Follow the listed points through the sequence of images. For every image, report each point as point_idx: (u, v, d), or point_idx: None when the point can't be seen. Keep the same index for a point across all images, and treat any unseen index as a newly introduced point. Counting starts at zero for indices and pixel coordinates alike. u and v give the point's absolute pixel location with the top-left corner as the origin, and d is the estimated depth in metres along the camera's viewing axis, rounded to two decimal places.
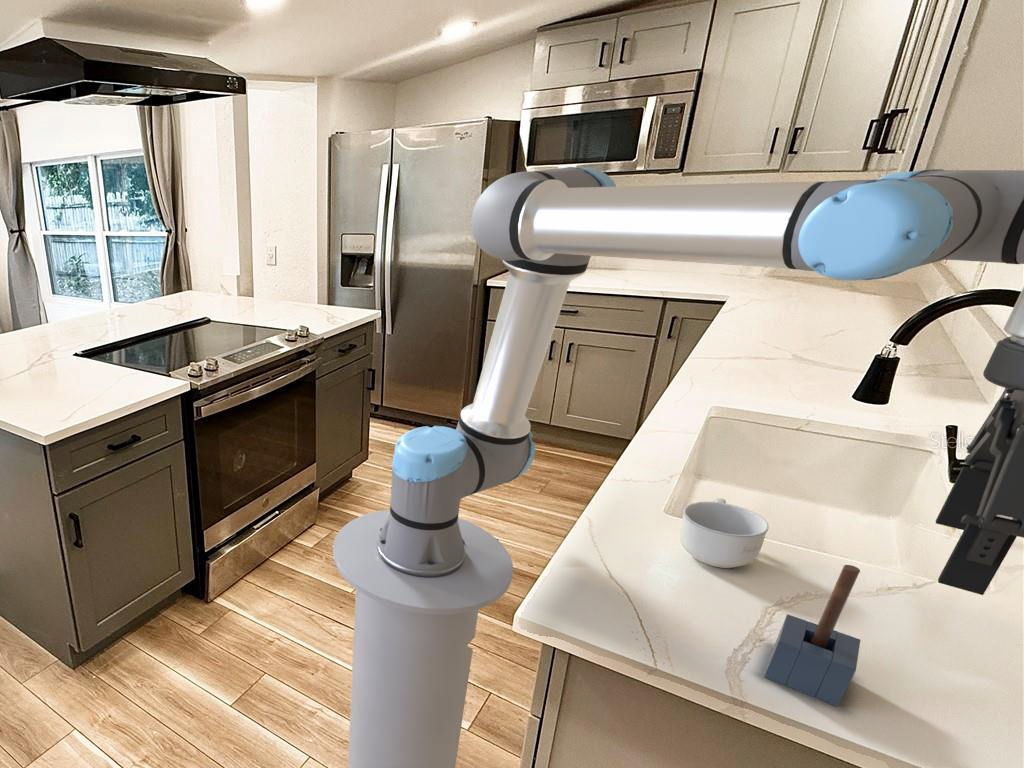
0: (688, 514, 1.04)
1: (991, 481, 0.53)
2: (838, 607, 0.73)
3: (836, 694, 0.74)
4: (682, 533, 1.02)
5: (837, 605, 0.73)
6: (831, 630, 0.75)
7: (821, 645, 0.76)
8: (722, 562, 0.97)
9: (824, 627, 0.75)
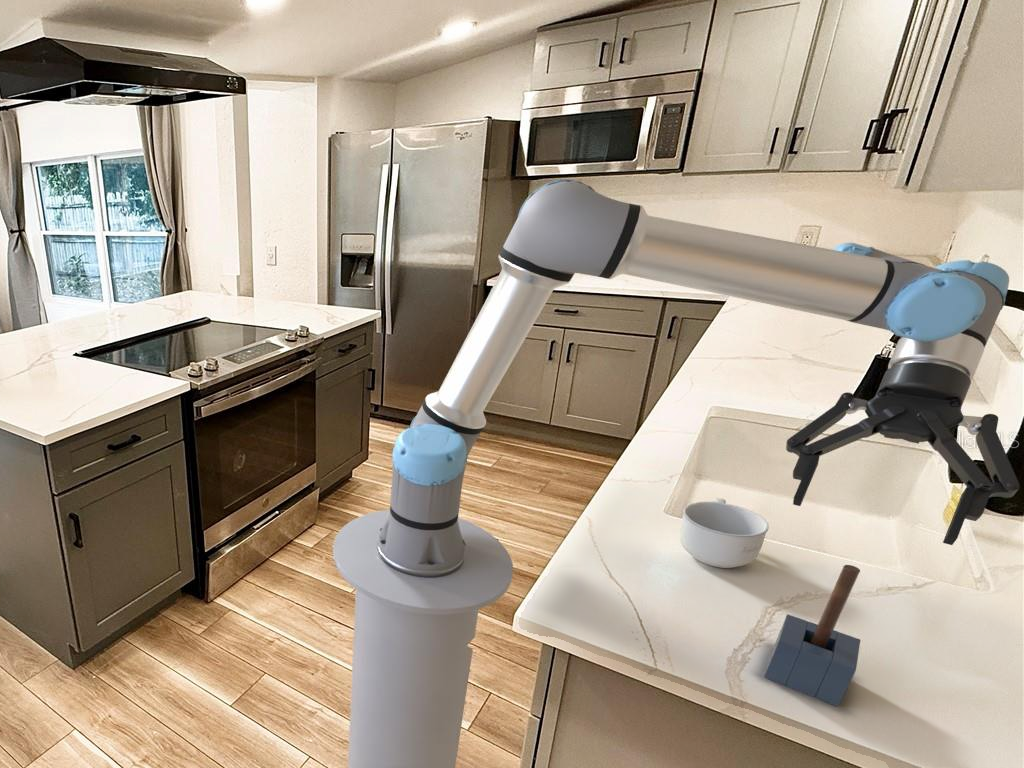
0: (688, 514, 1.04)
1: (970, 459, 0.72)
2: (838, 607, 0.73)
3: (836, 694, 0.74)
4: (682, 533, 1.02)
5: (837, 605, 0.73)
6: (831, 630, 0.75)
7: (821, 645, 0.76)
8: (722, 562, 0.97)
9: (824, 627, 0.75)
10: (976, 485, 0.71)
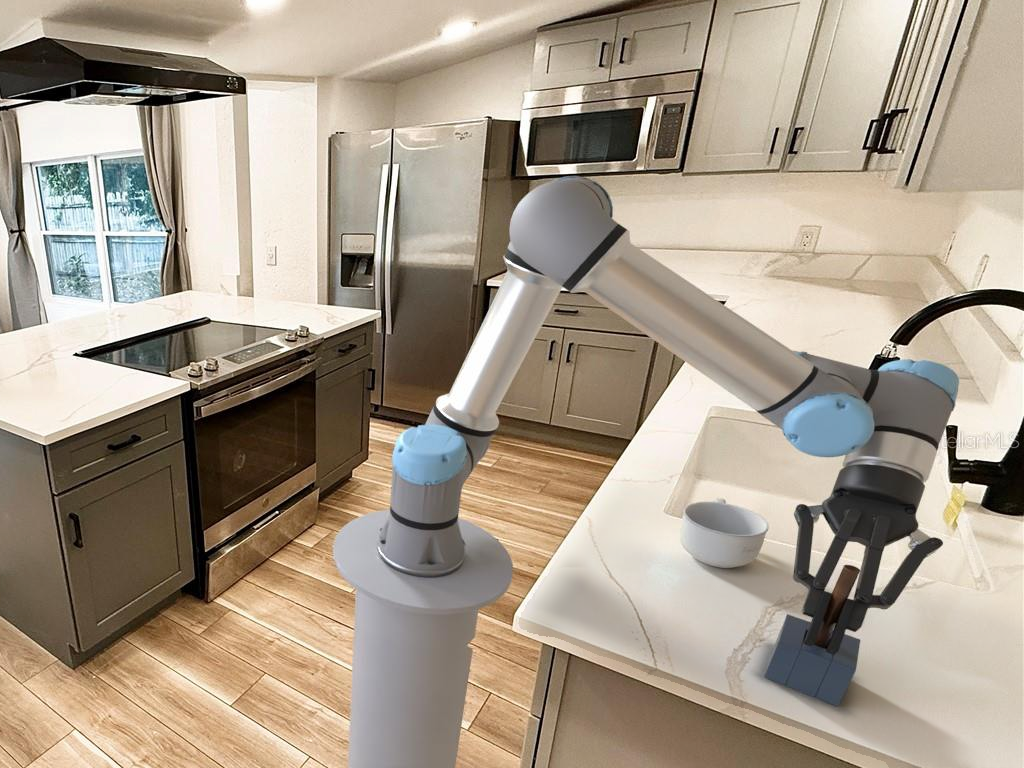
0: (688, 514, 1.04)
1: (876, 573, 0.73)
2: (838, 607, 0.73)
3: (836, 694, 0.74)
4: (682, 533, 1.02)
5: (837, 605, 0.73)
6: (831, 630, 0.75)
7: (821, 645, 0.76)
8: (722, 562, 0.97)
9: (824, 627, 0.75)
10: (857, 594, 0.73)
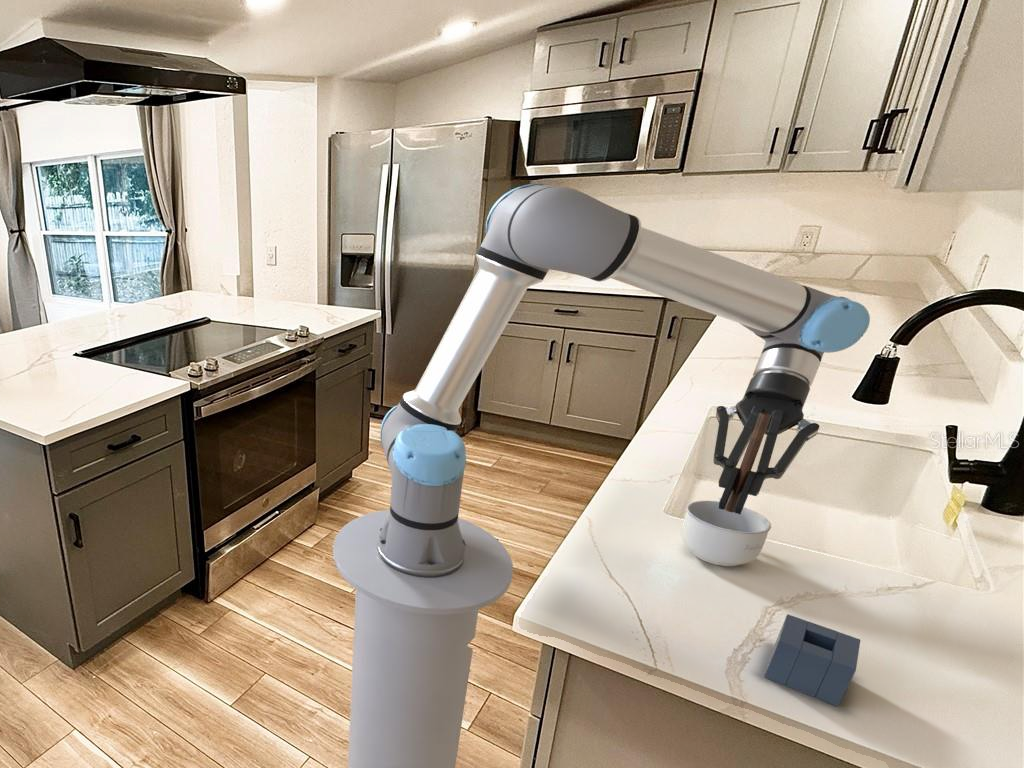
0: (690, 512, 1.04)
1: (771, 451, 0.96)
2: (755, 447, 0.95)
3: (836, 694, 0.74)
4: (684, 530, 1.02)
5: (754, 445, 0.95)
6: (750, 467, 0.96)
7: (743, 480, 0.97)
8: (724, 559, 0.97)
9: (745, 465, 0.96)
10: None
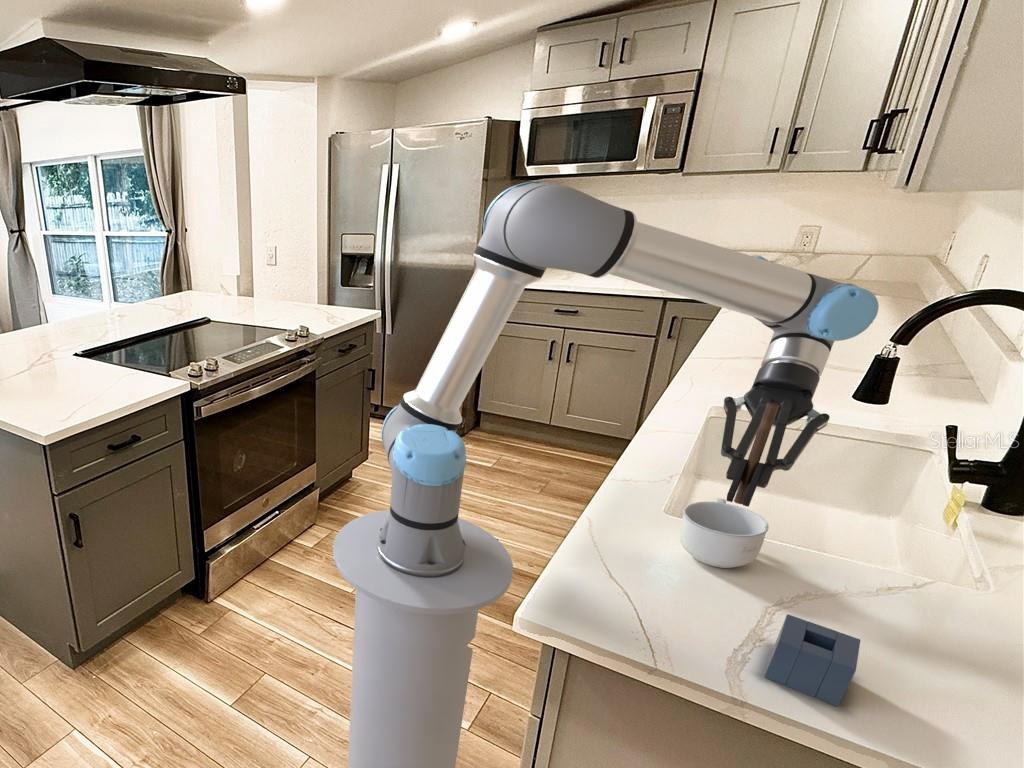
0: (688, 514, 1.04)
1: (780, 442, 0.94)
2: (763, 437, 0.93)
3: (836, 694, 0.74)
4: (682, 533, 1.02)
5: (762, 436, 0.93)
6: (759, 458, 0.94)
7: (751, 472, 0.95)
8: (722, 562, 0.97)
9: (753, 456, 0.95)
10: (766, 459, 0.94)
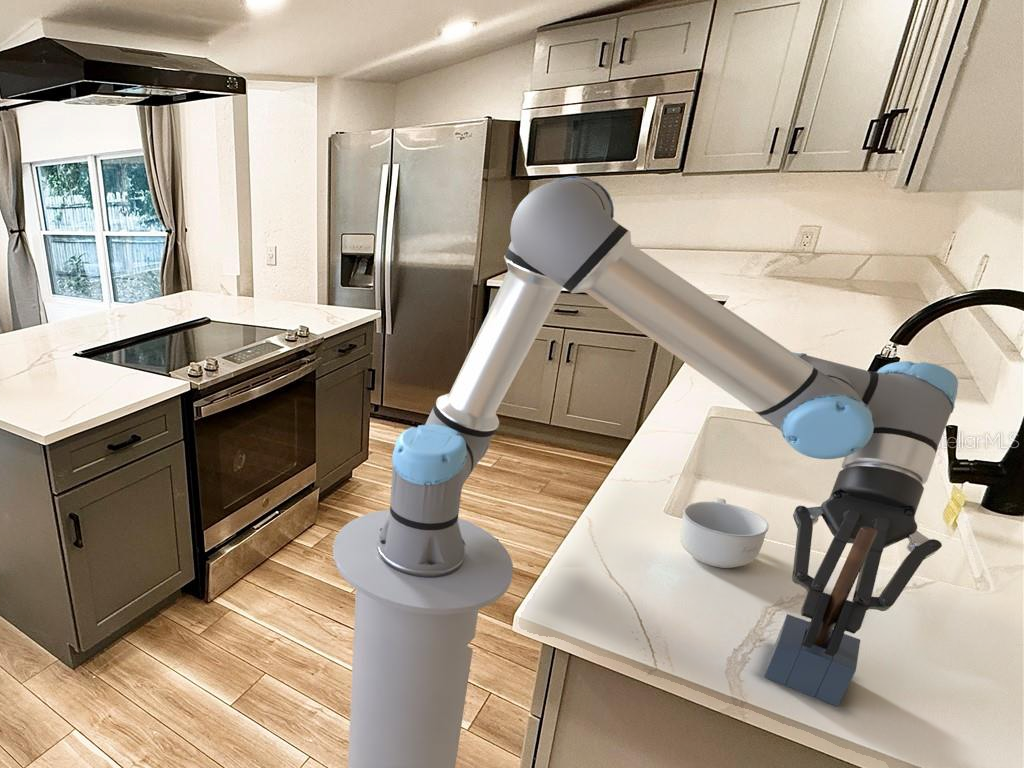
0: (688, 514, 1.04)
1: (875, 574, 0.73)
2: (854, 570, 0.71)
3: (836, 694, 0.74)
4: (682, 533, 1.02)
5: (853, 568, 0.71)
6: (847, 595, 0.73)
7: (836, 611, 0.74)
8: (722, 562, 0.97)
9: (840, 592, 0.73)
10: (856, 595, 0.73)
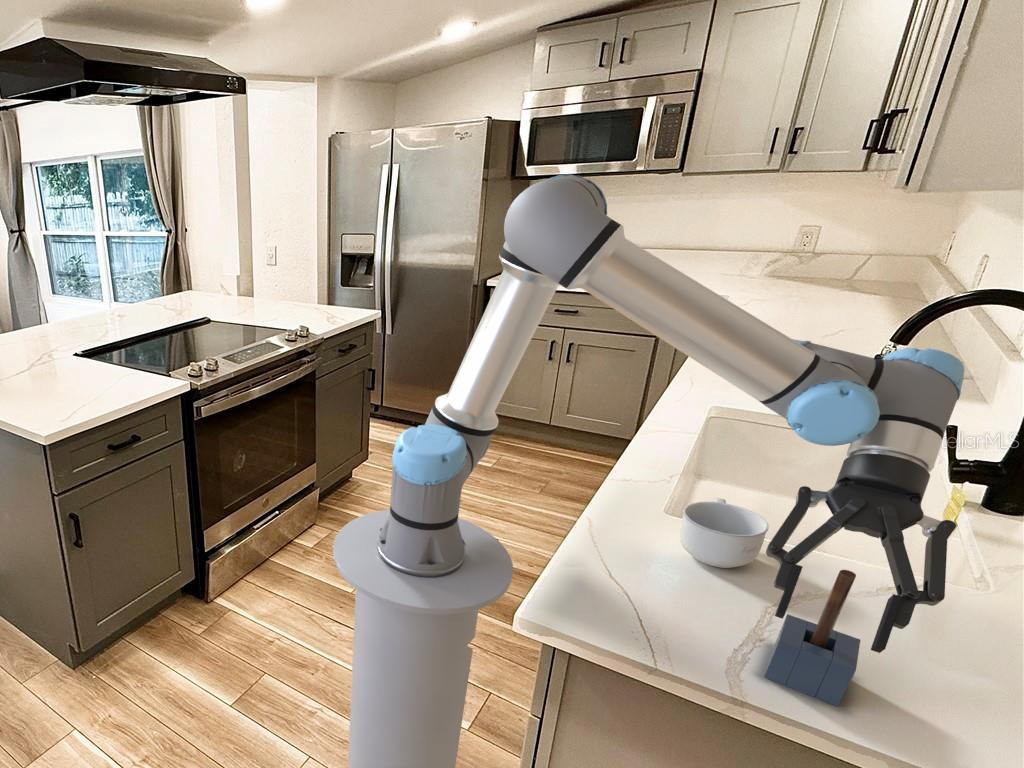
0: (688, 514, 1.04)
1: (908, 564, 0.71)
2: (835, 611, 0.73)
3: (836, 694, 0.74)
4: (682, 533, 1.02)
5: (834, 609, 0.73)
6: (829, 633, 0.74)
7: None
8: (722, 562, 0.97)
9: (822, 630, 0.75)
10: (903, 591, 0.70)
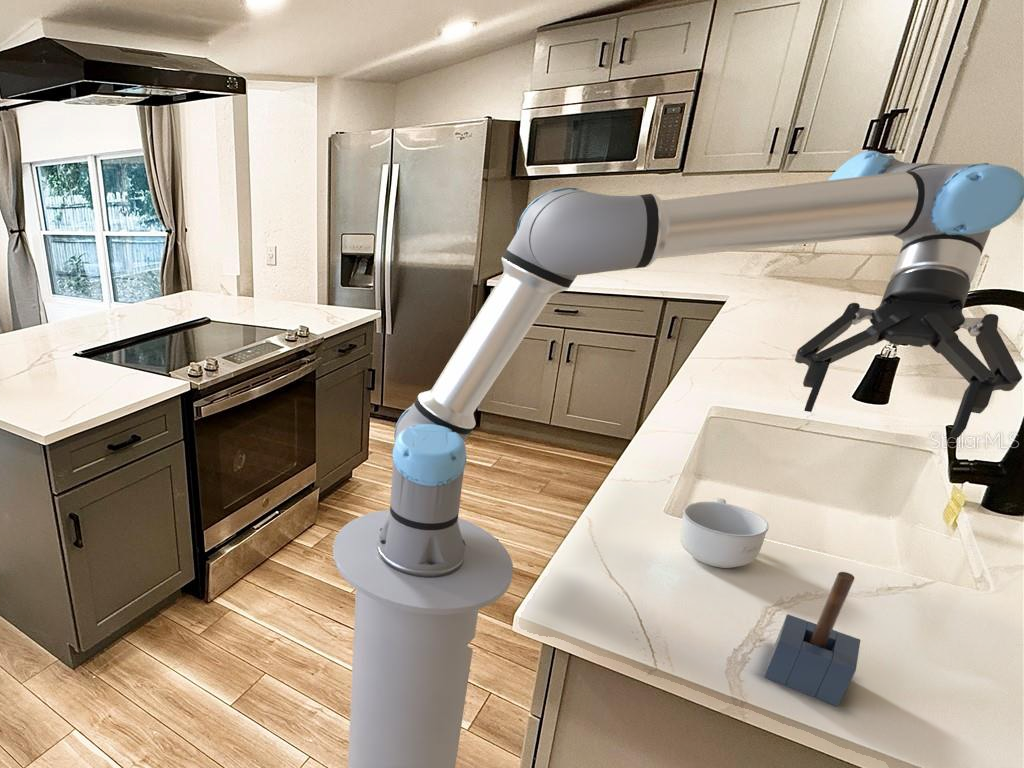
0: (688, 514, 1.04)
1: (973, 356, 0.76)
2: (834, 613, 0.73)
3: (836, 694, 0.74)
4: (682, 533, 1.02)
5: (833, 611, 0.73)
6: (828, 634, 0.74)
7: None
8: (722, 562, 0.97)
9: (822, 631, 0.75)
10: (981, 379, 0.75)
